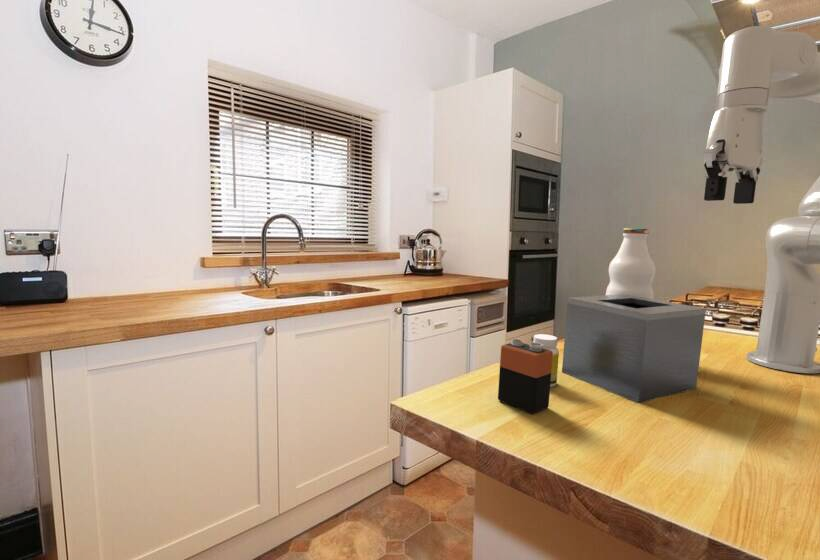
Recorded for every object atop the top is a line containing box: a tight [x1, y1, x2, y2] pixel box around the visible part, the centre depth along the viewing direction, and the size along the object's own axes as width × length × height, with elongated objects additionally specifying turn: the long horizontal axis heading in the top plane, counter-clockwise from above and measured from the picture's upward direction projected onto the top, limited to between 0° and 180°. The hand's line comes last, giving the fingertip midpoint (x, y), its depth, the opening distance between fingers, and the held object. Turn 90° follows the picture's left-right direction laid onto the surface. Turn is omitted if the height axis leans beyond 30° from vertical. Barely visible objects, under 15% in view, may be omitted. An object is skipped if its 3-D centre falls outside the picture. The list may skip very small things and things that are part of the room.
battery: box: [497, 338, 553, 415], centre depth 68 cm, size 4×7×10 cm, turn 41°
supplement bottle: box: [532, 333, 560, 388], centre depth 78 cm, size 5×5×8 cm
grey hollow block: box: [561, 294, 707, 403], centre depth 81 cm, size 16×16×14 cm
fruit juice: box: [605, 227, 657, 299], centre depth 96 cm, size 9×9×28 cm
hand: (728, 201), depth 81 cm, fingers open, 9 cm apart
